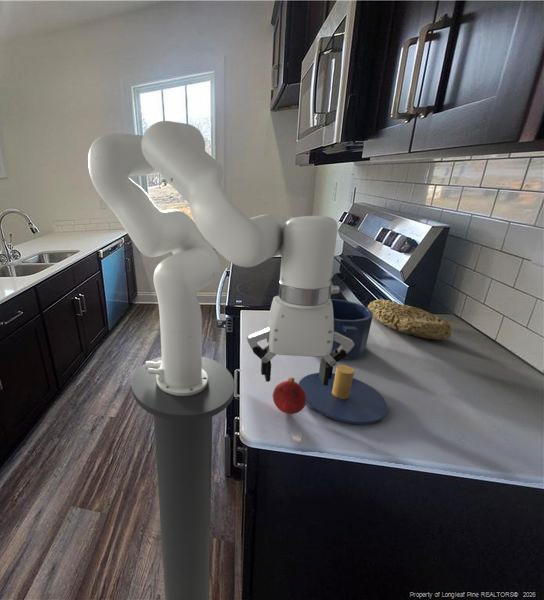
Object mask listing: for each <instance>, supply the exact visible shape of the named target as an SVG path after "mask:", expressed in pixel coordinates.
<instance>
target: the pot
mask: <svg viewBox="0 0 544 600" xmlns="http://www.w3.org/2000/svg"><path fill="white" fill-rule="evenodd" d="M330 299H331V301H332V305H333V317H334V331H335V332H337V333H339V334H341V335H343V336H345V337H347V338H349V339H351V340H352V341H353V342H354V344H355V345H354V347H353V348H352V349H351V350H350V351H349V352H348V353H347V356H346V357H345V358H343V359H342V360H341V361H350V360H351V361H352V360H357V359H359V358H362V357H363V356H364V354H365V353H366V349H367V344H368V340H369V334H370V331H371V330H370V329H371V325H372V322H373V317H372V316H373V312H372V311H371V310H370V309H368V306H366V305H363V304H360V303H357V302H353V301H350V300H345V299H336V298H331V297H330ZM340 345H341V344H340V343H338V342H336V341H333V346H332V351H334V350H335V349H337V348H338V347H340ZM332 351H331V352H332Z"/></svg>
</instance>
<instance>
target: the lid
mask: <svg viewBox="0 0 544 600" xmlns="http://www.w3.org/2000/svg"><path fill="white" fill-rule="evenodd" d="M335 367H336V368H335V372H332V378H331V379H329V381H328V386H325V385H323V384H322V382H321V380H320V378H319V372H315V373H310V374H307V375H305V376H303V377H302V378H301V379H300V380H299V382H298V384H299V385H300V386H301V387H302V389H303V390H304V392H305V394H306V403H305V405H308V407H310V408H311V409H313V410H314V411H315V412H317V413H319V414H321V415H323V416H325V417H328V418H330V419H333V420H336V421H339V422H343V423H347V424H354V425H355V424H356V425H369V424H374V423H377V422H379V421H382V420H383V419H384V418H385V417H386V416H387V413H388V409H389V405H388V402H387V400H386V398H385V397H384V396H383V395H382V394H381V393H380V392H379V391H378V390H376V388H374V387H373V386H371V385H369V384H368V383H365V382H364V381H362V380H359V379H357V378H354V376H355V370H354V369H353V368H352V367H351V366H348V365H343V364H342V365H341V364H340V365H336V366H335Z"/></svg>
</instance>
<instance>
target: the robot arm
mask: <svg viewBox="0 0 544 600" xmlns="http://www.w3.org/2000/svg"><path fill="white" fill-rule="evenodd" d="M87 160H88V161H87V163H88V164H87V165H88V172H89V176H90V179H91V182H92V185H93V187H94V189H95V190H96V192H97V193H98V195H99V196H100V198H101V199H102V200H103V201H104V202H105V203H106V205H107V206H108V207H109V208H110V210H111V211H112V212H113V214H114V215H115V217H116V218H117V220H118V221H119V223H120V224H121V226H122V228H123V229H124V230H125V232H126V234H127V235H128V236H129V238H130V240H131V241H132V243H133V244H134V245H135V247H136V249H137V250H138V251H139V252H140V253H141V254H142V255H143V256H144V257H147V258H157V257H161V256H164V255H167V254H169V253H172V255H169V256H168V257H165V258H164V259H162V260H161V261H160V262H159V263H158V264H157V266H156V267H155V269H154V272H153V278H152V279H153V286H154V290H155V295H156V298H157V304H158V313H159V329H160V330H159V331H160V346H161V347H160V349H161V351H160V352H161V353H160V354H161V356H162V361H158V362H151V361H150V360H146V361H145V362H144V364H145V368H146V369H148V374H157V377H156V379H157V384H158V386H159V387H160V388H161V389H162V390H163V391H165V392H167V393H169V394H172V395H176V396H189V395H194V394H197V393H199V392H201V391H202V390H204V389H205V388H206V386H207V384H208V375H207V373H206V372H205V371H204V370H203V369H202V356H203V355H202V354H203V315H202V308H201V305H200V302H199V299H198V292H200V291H201V290H202V289H204V288H206V287H208V286H210V285H211V284H213V283H214V282H216V280H217V279H218V277H219V275H220V272H221V262H220V258H219V256H218V255H217V253H216V252H218V253H219V254H220V256H222V257H223V258H224V259H226V260H227V261H228V262H229V263H231V264H233V265H235V266H238V267H239V268H240V267H241V268H252V267H256V266H259V265H260V264H262V263H264V262H266V261H267V260H268V259H272V258H275V257H277V256H280V257H281V259H280V273H279V287H278V295H276V296H274V297H273V299H272V301H271V306H270V308H269V316H268V321H267V327H266V328H264V329H262V330H259V331H257V332H255V333H251V334H249V335H248V336H246V341H247V343H248V345H249V347H250V349H251V351H252V353H253V354H254V355H255V356H257V357H258V358H259V359H260V360H261V362H260V363H261V364H260V365H261V366H260V374H261V375H262V376H264V378H265V382H267V383H269V382H271V377H272V376H271V374H272V361H271V360H272V359H273V358H274V357H276V356H277V355H278V356H292V357H293V356H296V357H316V358H319V357H320V363H319V369H318V373H319V378H320V380H321V382H322V384H323V385H325V386H328V381H329V379H331V378H332V373H334V372H333V370H334V367H337V366H338V365H337V364H338V363H339V362H341V361H343V360H342V359H343V358H345V357H346V356H347V353H348V352H349V351H350V350H351V349H352V348H353V347H354V345H355V344H354V342H353V341H352V340H351V339H349V338H347V337H345V336H343V335H341V334H339V333H337V332H335V331H334V317H333V305H332V301H331V299H332V298H331V297H332V296H333V295H339V294H340V286H339V285H334V284H332V275H333V268H334V267H333V266H334V260H335V252H336V246H337V245H336V244H337V238H338V229H339V225H338V222H337V221H336V220H335V219H334V218H333V217H331V216H326V215H325V216H323V215H303V216H296V217H295V216H287V215H281V214H273V213H266V214H261V215H257V216H253V217H249V216H248V215H246V213H244V212H243V211H242V210H241V209H240V208H239V207H238V206H237V205H236V204H235V203H234V202H233V201H232V200H231V199H230V197H228V195H227V194H226V192H225V191H224V188H223V186H222V185H223V184H222V180H223V178H224V168H223V166H222V165H221V163H220V162H219V161H217V159H215V157H213V156H212V155H211V154H210V153H208V152H207V151H206V142H205V138H204V136H203V134H202V132H201V130H199V128H197V127H196V126H195V125H192V124H189V123H185V122H178V121H171V120H161V121H157V122H155V123H152V124H151V125H149V126H148V128H146V129H145V131H144V133H143V135H142V134H131V133H118V132H116V133H107V134H103V135H100V136H99V137H97V138H96V139H94V141H93V142H92V143H91V145H90V146H89V151H88V157H87ZM158 174H159V175H160V176H161V178H163V179H164V180H165V181H166V182H167V183H168V184H169V185H170V186H171V187H172V188H173V189H174V190H175V191H176V192H177V193H178V194H179V195H180V196H181V197H182V198H183V199H184V200H185V201H186V202H187V204H188V206H189V210H190V214H191V216H192V218H191V217H190V216H189V215H188V214H187V213H186V212H184V211H182V210H179V209H166V210H161V209H159V208H158V206H157V205H156V204H155V203H154V202H153V200H152V199H151V198H150V196H149V194H148V193H147V192H146V191H145V189H144V188H142V187H141V186H140V185H139V184H138V183H136V182H135V181H134V180H132V179H131V177H141V176H150V175H151V176H152V175H158ZM215 250H216V251H215ZM330 298H331V299H330ZM265 339H266V343H267V345H266V346H264V347H261V346H260V345H259V344H258V343H259V342H261V341H263V340H265ZM333 341H336V342H338V343H340V344H341V345H340V347H338V348H337V349H335V350H334V351H332V346H333ZM331 351H332V352H331Z"/></svg>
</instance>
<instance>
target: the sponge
mask: <svg viewBox="0 0 544 600" xmlns="http://www.w3.org/2000/svg"><path fill="white" fill-rule="evenodd" d="M367 308H368V309H370V310H371V311H372V312H373V316H372V319H373V318H374V320H376V321H379V322H381V324H383V325H385V326H387V327H389V329H393V330H395V331H397V332H401V333H402V334H405V335H409V336H415V337H419V338H423V339H428V340H430V339H431V340H438V341H443V340H448V339H449V338H451V337H452V327H451V324H450V323H448V321H446V320H445V319H443V318H440V317H439V316H437V315H435V314H433V313H430V312H429V311H427V310H424V309H422V308H419V307H414V306H411V305H408V304H400V303H398V302H397V301H396V300H389V299H384V298H379V299H376V300H372V301H370V302H369V304H367Z"/></svg>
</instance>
